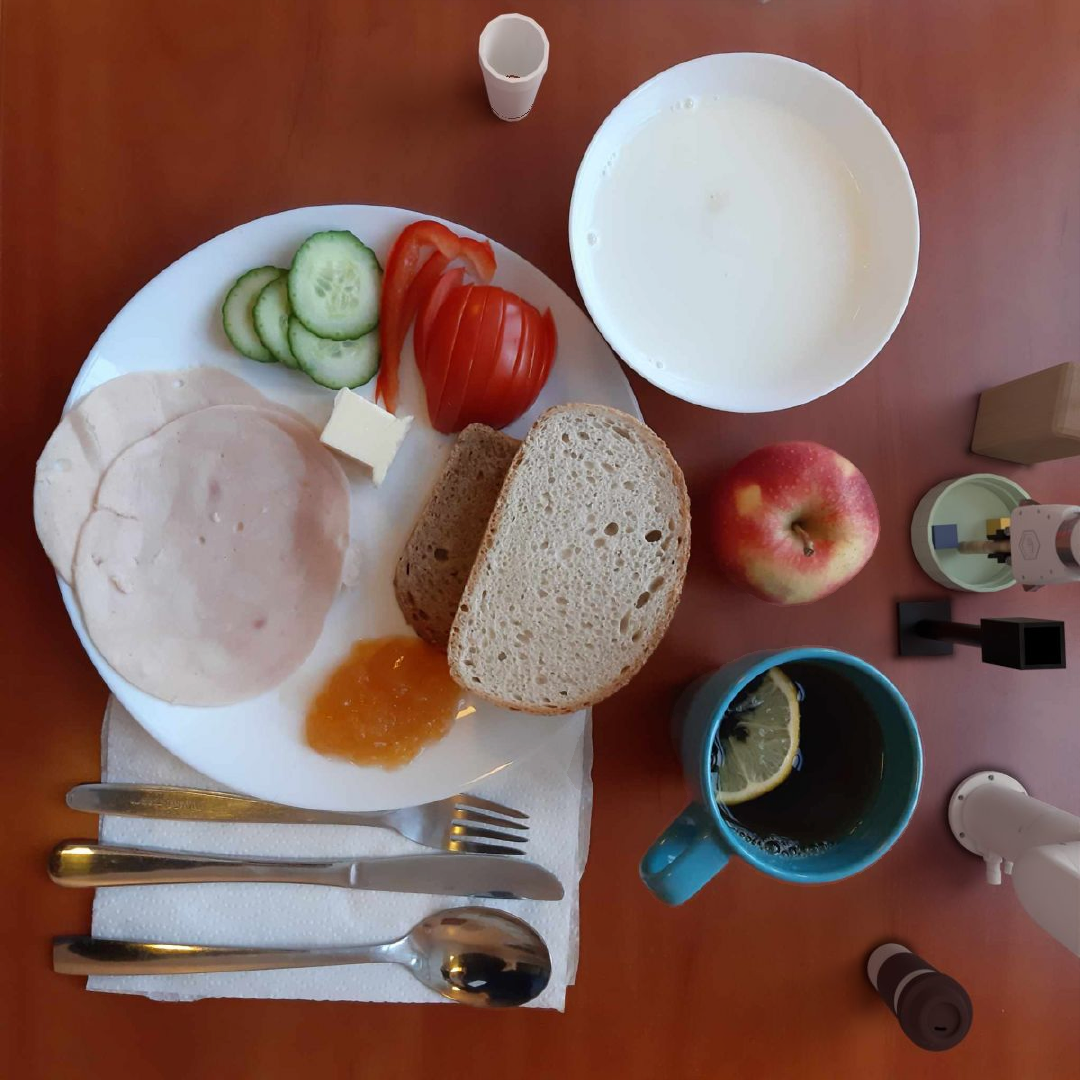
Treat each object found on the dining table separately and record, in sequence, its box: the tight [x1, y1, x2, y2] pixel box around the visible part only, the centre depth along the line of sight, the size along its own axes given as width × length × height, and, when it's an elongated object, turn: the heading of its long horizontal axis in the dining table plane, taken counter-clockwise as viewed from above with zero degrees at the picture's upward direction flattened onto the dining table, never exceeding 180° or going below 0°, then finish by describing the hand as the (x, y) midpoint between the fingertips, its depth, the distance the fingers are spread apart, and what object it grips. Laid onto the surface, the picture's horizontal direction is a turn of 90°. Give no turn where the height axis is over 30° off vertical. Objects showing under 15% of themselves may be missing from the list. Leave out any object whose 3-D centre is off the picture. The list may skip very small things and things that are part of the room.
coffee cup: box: [867, 943, 974, 1053], centre depth 119 cm, size 10×10×15 cm
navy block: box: [931, 524, 959, 549], centre depth 126 cm, size 4×4×4 cm
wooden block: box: [971, 360, 1080, 466], centre depth 120 cm, size 10×10×20 cm
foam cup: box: [478, 12, 550, 123], centre depth 120 cm, size 10×9×13 cm
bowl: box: [910, 473, 1032, 593], centre depth 126 cm, size 17×17×6 cm
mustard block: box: [987, 518, 1010, 535], centre depth 127 cm, size 4×4×4 cm
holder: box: [895, 600, 1067, 671], centre depth 115 cm, size 8×8×28 cm
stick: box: [957, 539, 1011, 554], centre depth 120 cm, size 2×2×14 cm
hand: (997, 546), depth 119 cm, fingers closed on stick, 2 cm apart
